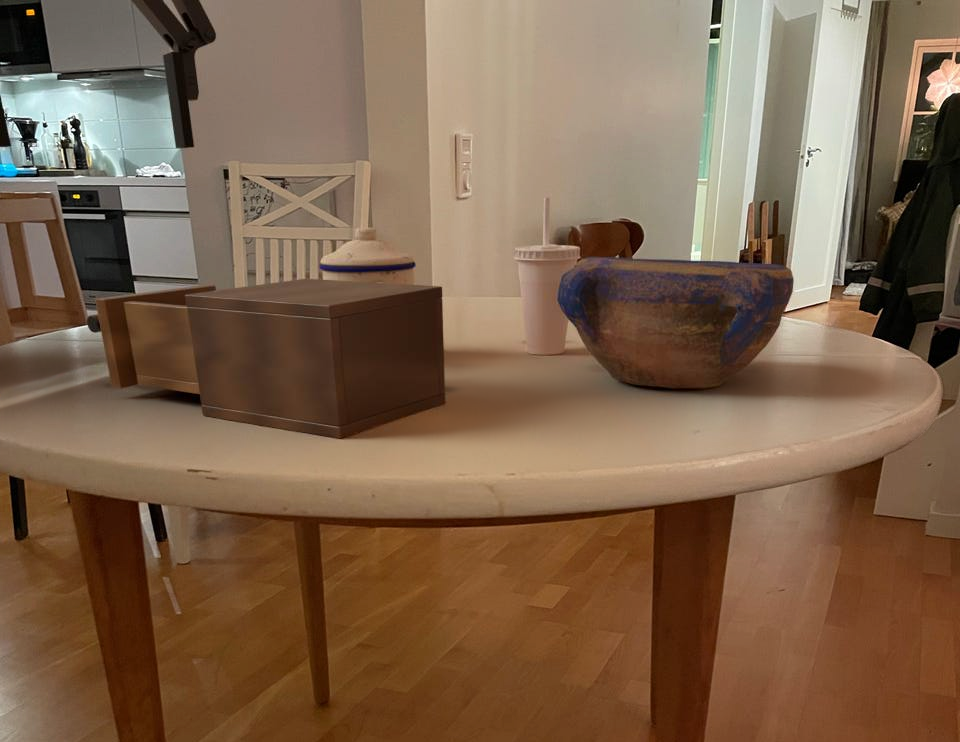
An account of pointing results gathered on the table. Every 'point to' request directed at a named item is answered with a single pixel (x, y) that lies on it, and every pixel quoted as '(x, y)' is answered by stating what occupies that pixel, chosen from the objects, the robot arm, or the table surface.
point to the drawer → (148, 338)
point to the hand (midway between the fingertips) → (98, 147)
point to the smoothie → (544, 290)
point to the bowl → (674, 316)
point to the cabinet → (318, 353)
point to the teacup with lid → (368, 261)
